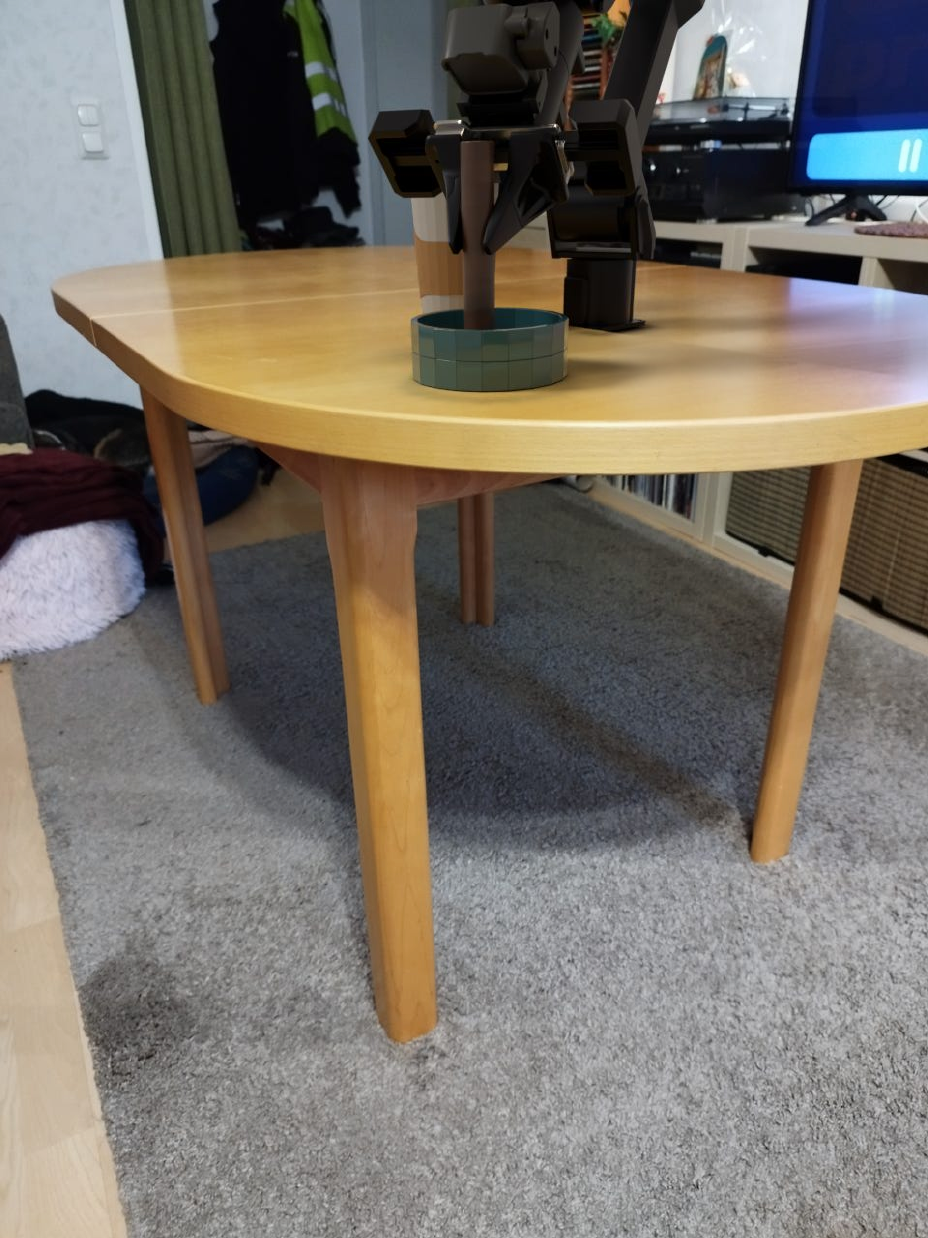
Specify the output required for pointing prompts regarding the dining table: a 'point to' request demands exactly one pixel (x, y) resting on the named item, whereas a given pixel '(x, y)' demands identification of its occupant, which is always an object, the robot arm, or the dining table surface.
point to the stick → (477, 234)
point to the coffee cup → (438, 254)
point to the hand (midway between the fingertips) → (469, 250)
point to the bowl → (490, 350)
